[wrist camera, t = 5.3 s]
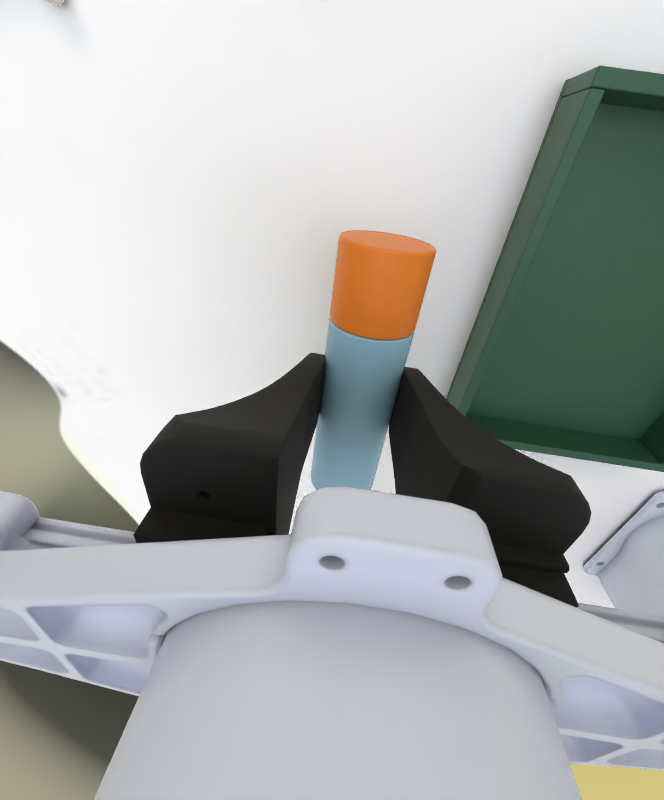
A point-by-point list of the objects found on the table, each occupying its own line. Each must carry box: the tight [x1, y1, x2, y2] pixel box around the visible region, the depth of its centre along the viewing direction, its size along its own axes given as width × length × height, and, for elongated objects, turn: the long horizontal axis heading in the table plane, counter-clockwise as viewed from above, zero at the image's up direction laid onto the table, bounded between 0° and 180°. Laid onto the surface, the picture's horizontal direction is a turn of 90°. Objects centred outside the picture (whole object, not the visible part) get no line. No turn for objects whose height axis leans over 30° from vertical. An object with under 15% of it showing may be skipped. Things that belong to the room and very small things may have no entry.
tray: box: [446, 66, 664, 472], centre depth 15 cm, size 15×12×2 cm
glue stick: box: [311, 231, 436, 490], centre depth 13 cm, size 10×3×3 cm, turn 173°
